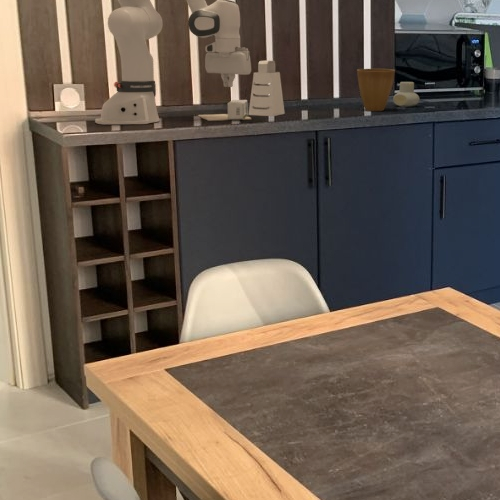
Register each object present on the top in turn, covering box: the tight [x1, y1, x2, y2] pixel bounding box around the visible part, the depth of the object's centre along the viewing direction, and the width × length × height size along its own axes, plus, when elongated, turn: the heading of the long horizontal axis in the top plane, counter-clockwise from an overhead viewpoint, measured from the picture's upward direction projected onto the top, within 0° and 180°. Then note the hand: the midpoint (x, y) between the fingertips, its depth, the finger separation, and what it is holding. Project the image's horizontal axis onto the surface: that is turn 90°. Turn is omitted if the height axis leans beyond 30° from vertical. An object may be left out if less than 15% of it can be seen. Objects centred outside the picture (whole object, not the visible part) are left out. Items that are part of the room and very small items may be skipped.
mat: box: [197, 113, 252, 122], centre depth 306 cm, size 16×16×1 cm
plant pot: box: [356, 68, 396, 112], centre depth 332 cm, size 15×15×16 cm
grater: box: [247, 60, 286, 117], centre depth 317 cm, size 10×10×20 cm
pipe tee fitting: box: [392, 81, 420, 108], centre depth 349 cm, size 11×8×10 cm
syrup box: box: [227, 99, 249, 120], centre depth 303 cm, size 6×6×14 cm
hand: (228, 86), depth 298 cm, fingers closed
